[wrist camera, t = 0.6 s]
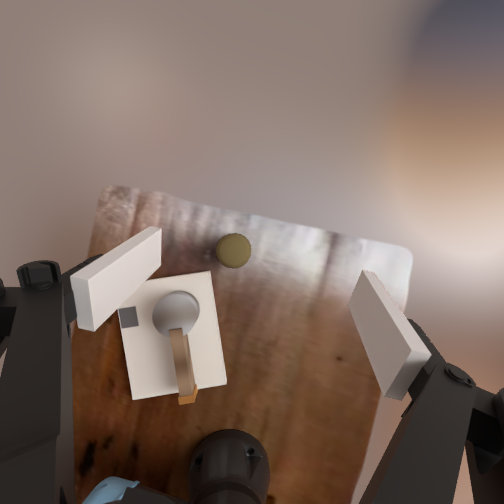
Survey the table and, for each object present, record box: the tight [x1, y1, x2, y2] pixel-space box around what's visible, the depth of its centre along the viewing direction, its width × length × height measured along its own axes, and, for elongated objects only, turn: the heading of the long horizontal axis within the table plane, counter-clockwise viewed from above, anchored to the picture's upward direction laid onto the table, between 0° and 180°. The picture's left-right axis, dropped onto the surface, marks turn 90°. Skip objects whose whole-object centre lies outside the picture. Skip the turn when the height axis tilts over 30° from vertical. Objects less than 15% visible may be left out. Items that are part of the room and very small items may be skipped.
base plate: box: [118, 271, 227, 400], centre depth 45 cm, size 21×17×2 cm
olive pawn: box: [216, 233, 251, 268], centre depth 41 cm, size 6×6×11 cm
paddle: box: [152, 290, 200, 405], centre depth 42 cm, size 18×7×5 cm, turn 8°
